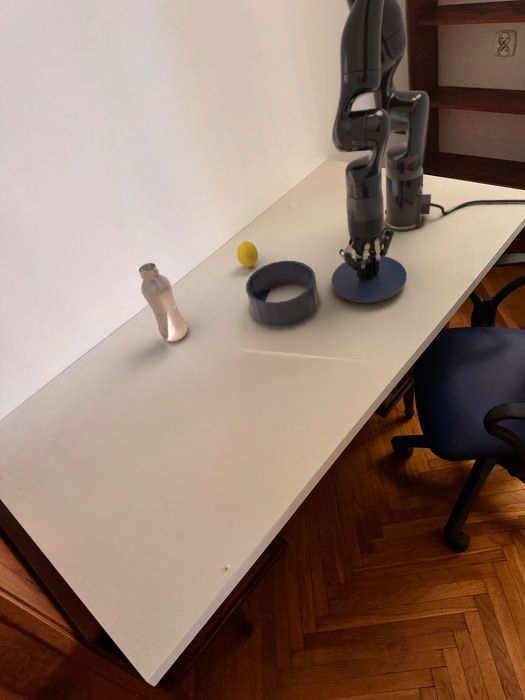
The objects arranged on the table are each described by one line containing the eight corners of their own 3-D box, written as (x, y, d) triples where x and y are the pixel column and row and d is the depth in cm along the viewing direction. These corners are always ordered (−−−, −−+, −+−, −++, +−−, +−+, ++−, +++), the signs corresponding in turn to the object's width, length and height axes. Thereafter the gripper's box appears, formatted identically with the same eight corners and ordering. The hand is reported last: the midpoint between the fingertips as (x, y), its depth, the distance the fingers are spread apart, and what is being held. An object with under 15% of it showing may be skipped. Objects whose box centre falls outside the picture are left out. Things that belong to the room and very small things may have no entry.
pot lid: (409, 259, 114) (410, 237, 110) (402, 306, 104) (403, 284, 99) (338, 258, 120) (336, 237, 116) (325, 303, 109) (322, 282, 105)
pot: (324, 285, 117) (321, 261, 112) (309, 330, 107) (305, 305, 102) (263, 283, 122) (257, 260, 117) (243, 325, 112) (236, 302, 107)
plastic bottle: (160, 333, 116) (129, 266, 102) (186, 322, 117) (158, 255, 103) (166, 348, 112) (134, 281, 98) (193, 337, 113) (165, 269, 99)
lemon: (264, 262, 129) (258, 237, 124) (253, 274, 126) (247, 249, 121) (247, 259, 132) (241, 234, 126) (236, 271, 129) (229, 246, 123)
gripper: (348, 231, 95) (353, 297, 107) (403, 203, 98) (402, 270, 110) (327, 217, 100) (334, 281, 112) (380, 191, 103) (382, 256, 115)
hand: (368, 275), depth 111 cm, fingers closed on pot lid, 2 cm apart
